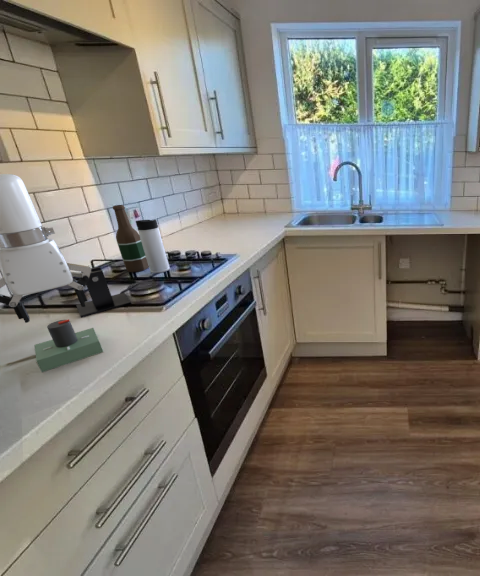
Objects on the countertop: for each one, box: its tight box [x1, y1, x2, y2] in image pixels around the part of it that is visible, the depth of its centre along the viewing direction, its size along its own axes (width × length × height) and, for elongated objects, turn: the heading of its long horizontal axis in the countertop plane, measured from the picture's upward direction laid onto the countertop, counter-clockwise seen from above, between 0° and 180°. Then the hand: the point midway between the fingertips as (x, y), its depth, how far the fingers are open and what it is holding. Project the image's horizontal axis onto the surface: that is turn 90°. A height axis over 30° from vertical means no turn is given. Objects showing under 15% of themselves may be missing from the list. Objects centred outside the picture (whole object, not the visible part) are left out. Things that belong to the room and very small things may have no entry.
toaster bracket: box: [75, 266, 132, 319], centre depth 104 cm, size 12×10×12 cm
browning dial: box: [46, 319, 78, 347], centre depth 82 cm, size 4×4×5 cm
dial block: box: [34, 327, 104, 373], centre depth 84 cm, size 11×9×3 cm
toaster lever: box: [71, 271, 93, 278], centre depth 100 cm, size 11×6×2 cm, turn 135°
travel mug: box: [135, 219, 171, 274], centre depth 129 cm, size 6×7×20 cm
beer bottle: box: [112, 204, 150, 273], centre depth 133 cm, size 8×8×24 cm
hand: (56, 312), depth 80 cm, fingers open, 9 cm apart
